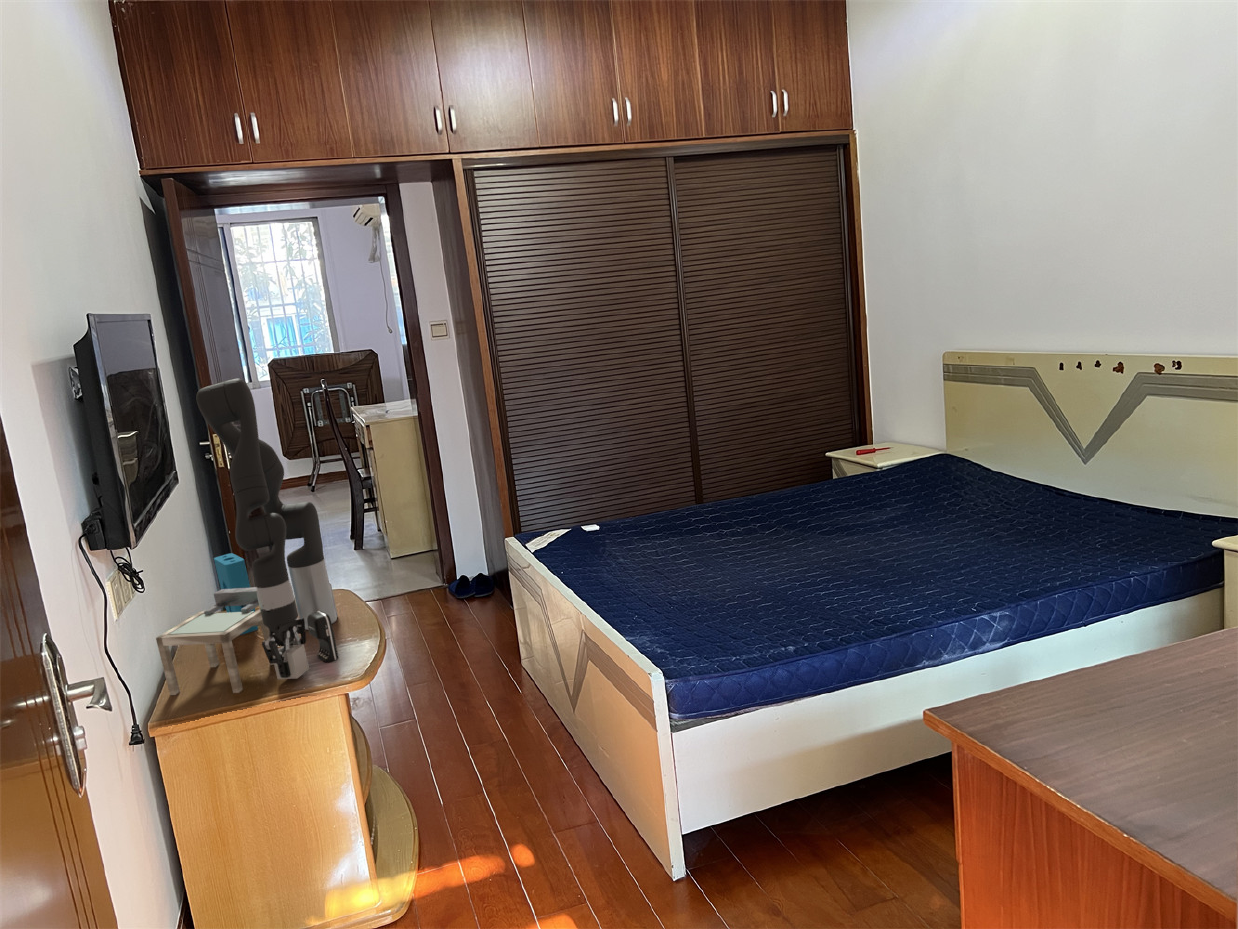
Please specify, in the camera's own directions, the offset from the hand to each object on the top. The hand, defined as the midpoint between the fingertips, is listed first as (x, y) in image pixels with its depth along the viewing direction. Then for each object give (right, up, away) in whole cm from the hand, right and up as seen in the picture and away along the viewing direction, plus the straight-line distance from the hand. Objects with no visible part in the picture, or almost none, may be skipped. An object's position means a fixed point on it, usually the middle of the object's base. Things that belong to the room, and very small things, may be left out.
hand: (292, 671), depth 206 cm
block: (-27, +2, +39) cm, 48 cm away
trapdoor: (-19, +10, +7) cm, 23 cm away
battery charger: (+5, 0, +10) cm, 11 cm away
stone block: (0, -1, 0) cm, 1 cm away
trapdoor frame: (-18, -3, +6) cm, 19 cm away
